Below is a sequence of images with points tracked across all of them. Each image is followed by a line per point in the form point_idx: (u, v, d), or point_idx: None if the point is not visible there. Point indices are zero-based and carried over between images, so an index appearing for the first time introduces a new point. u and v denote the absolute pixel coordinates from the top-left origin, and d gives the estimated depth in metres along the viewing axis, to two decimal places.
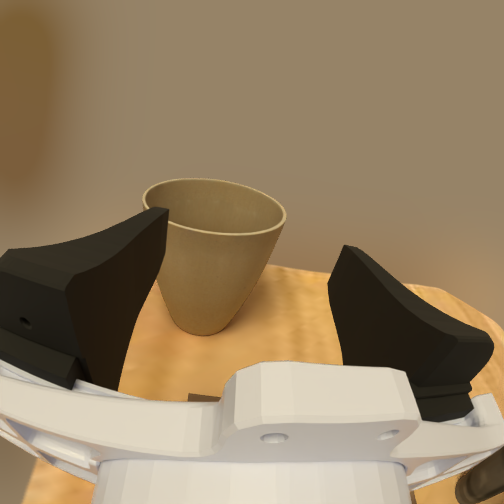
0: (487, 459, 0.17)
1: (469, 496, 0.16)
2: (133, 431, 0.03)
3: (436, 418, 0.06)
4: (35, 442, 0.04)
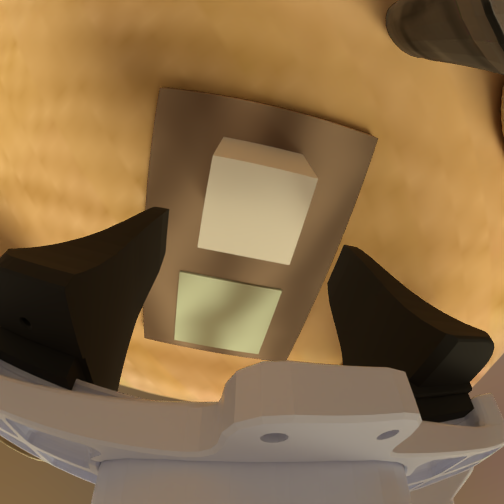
0: (423, 24, 0.10)
1: (433, 59, 0.13)
2: (133, 431, 0.03)
3: (436, 418, 0.06)
4: (35, 442, 0.04)
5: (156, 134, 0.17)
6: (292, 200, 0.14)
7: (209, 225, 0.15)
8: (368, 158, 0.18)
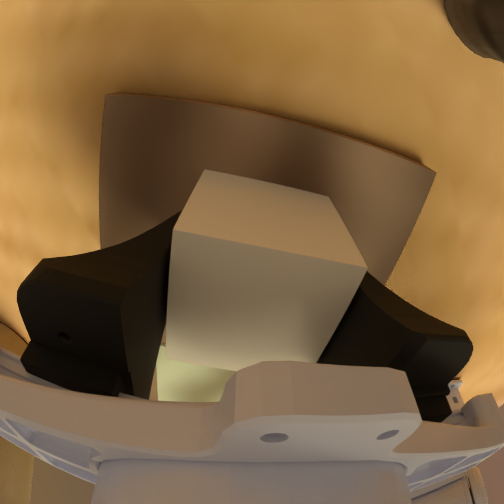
0: None
1: None
2: (133, 431, 0.03)
3: None
4: (35, 442, 0.04)
5: (104, 166, 0.11)
6: (319, 302, 0.08)
7: (179, 334, 0.09)
8: (421, 201, 0.12)
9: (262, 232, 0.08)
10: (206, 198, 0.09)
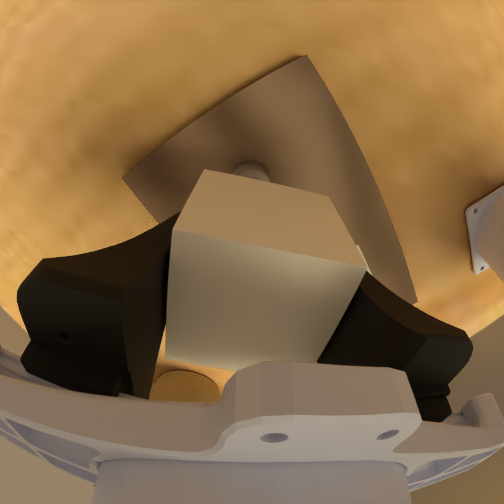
0: None
1: None
2: (133, 431, 0.03)
3: None
4: (35, 442, 0.04)
5: (151, 209, 0.20)
6: (319, 302, 0.08)
7: (179, 334, 0.09)
8: (316, 76, 0.15)
9: (262, 232, 0.08)
10: (206, 198, 0.09)
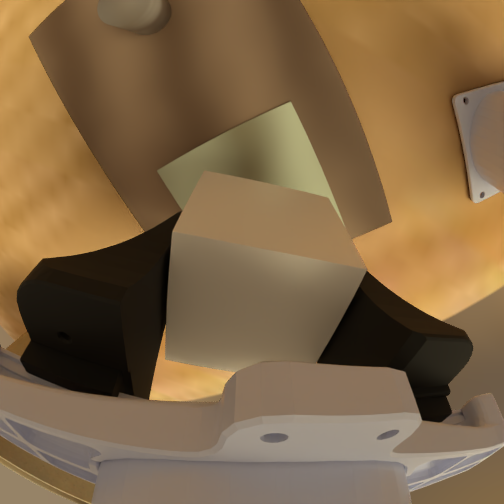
0: None
1: None
2: (133, 431, 0.03)
3: None
4: (35, 442, 0.04)
5: (46, 64, 0.12)
6: (319, 303, 0.08)
7: (179, 335, 0.09)
8: None
9: (261, 234, 0.08)
10: (206, 199, 0.09)
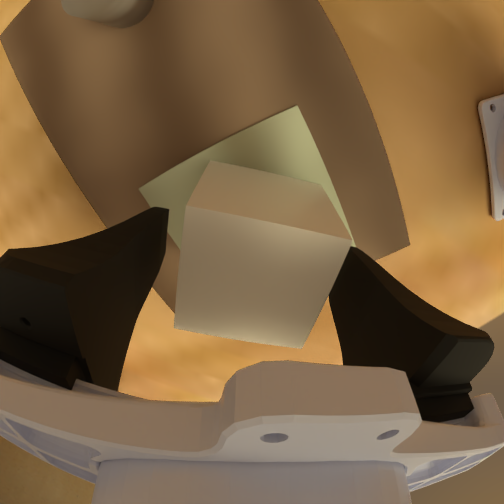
0: None
1: None
2: (133, 431, 0.03)
3: (436, 418, 0.06)
4: (35, 442, 0.04)
5: (16, 67, 0.09)
6: (311, 271, 0.09)
7: (188, 303, 0.10)
8: None
9: (261, 210, 0.09)
10: (213, 183, 0.10)
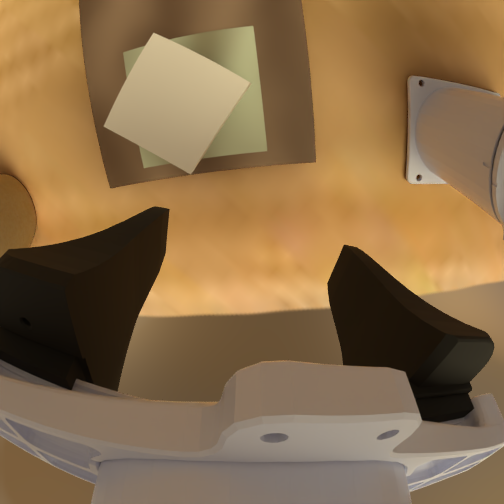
0: None
1: None
2: (133, 431, 0.03)
3: (436, 418, 0.06)
4: (35, 442, 0.04)
5: None
6: (215, 98, 0.12)
7: (122, 104, 0.11)
8: None
9: None
10: None
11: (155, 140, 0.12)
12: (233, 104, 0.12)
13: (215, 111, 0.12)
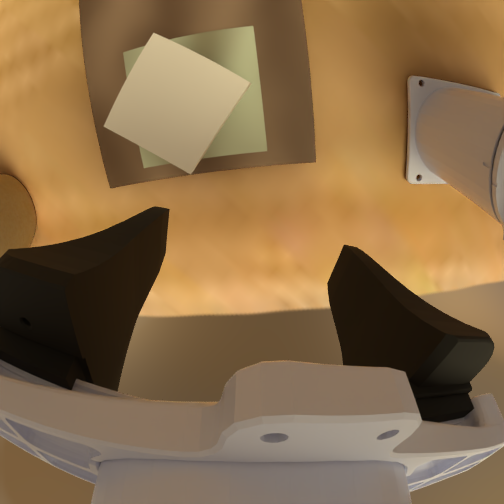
0: None
1: None
2: (133, 431, 0.03)
3: (436, 418, 0.06)
4: (35, 442, 0.04)
5: None
6: (215, 98, 0.12)
7: (122, 104, 0.11)
8: None
9: None
10: None
11: (155, 140, 0.12)
12: (233, 104, 0.12)
13: (215, 111, 0.12)
